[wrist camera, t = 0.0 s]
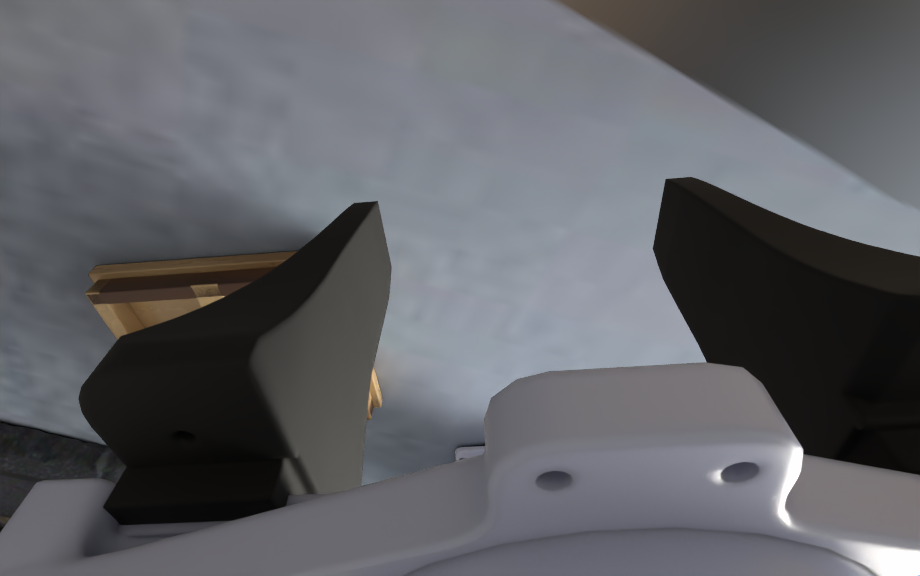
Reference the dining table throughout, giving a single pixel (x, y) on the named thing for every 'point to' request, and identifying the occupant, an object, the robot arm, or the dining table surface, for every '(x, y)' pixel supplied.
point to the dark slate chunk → (47, 463)
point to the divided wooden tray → (179, 291)
